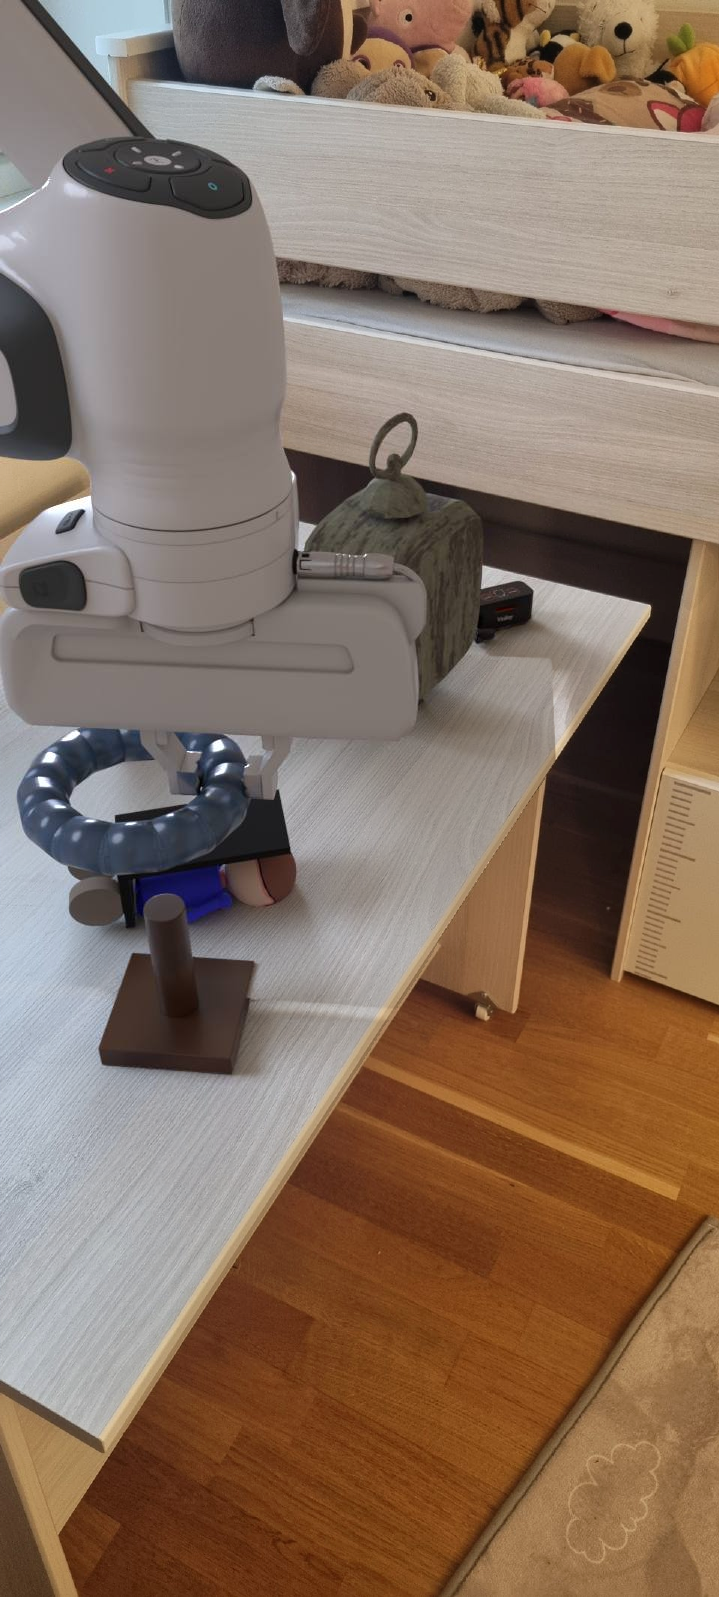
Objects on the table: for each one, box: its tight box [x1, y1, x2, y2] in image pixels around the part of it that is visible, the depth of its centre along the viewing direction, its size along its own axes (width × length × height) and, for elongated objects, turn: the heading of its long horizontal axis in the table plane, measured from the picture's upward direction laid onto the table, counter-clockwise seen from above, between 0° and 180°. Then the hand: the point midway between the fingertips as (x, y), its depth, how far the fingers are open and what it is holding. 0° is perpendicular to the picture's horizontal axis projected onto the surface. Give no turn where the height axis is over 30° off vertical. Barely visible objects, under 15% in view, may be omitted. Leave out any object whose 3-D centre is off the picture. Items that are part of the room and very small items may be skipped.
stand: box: [97, 894, 255, 1075], centre depth 71 cm, size 8×8×10 cm
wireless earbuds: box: [473, 580, 534, 645], centre depth 111 cm, size 5×7×3 cm, turn 114°
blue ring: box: [16, 727, 251, 876], centre depth 63 cm, size 12×12×3 cm
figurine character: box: [67, 788, 297, 929], centre depth 80 cm, size 7×8×15 cm
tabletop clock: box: [303, 411, 484, 706], centre depth 94 cm, size 14×9×25 cm, turn 150°
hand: (224, 790), depth 63 cm, fingers closed on blue ring, 2 cm apart
